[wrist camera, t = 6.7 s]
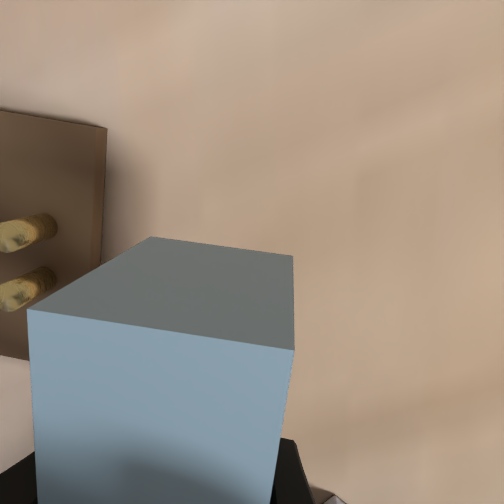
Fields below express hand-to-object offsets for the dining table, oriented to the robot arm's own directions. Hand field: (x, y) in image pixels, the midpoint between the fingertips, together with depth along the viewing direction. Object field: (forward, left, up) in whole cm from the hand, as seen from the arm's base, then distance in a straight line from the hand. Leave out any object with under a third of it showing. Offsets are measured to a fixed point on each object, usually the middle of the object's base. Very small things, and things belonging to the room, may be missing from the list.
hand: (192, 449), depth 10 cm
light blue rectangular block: (0, 0, -2) cm, 2 cm away
